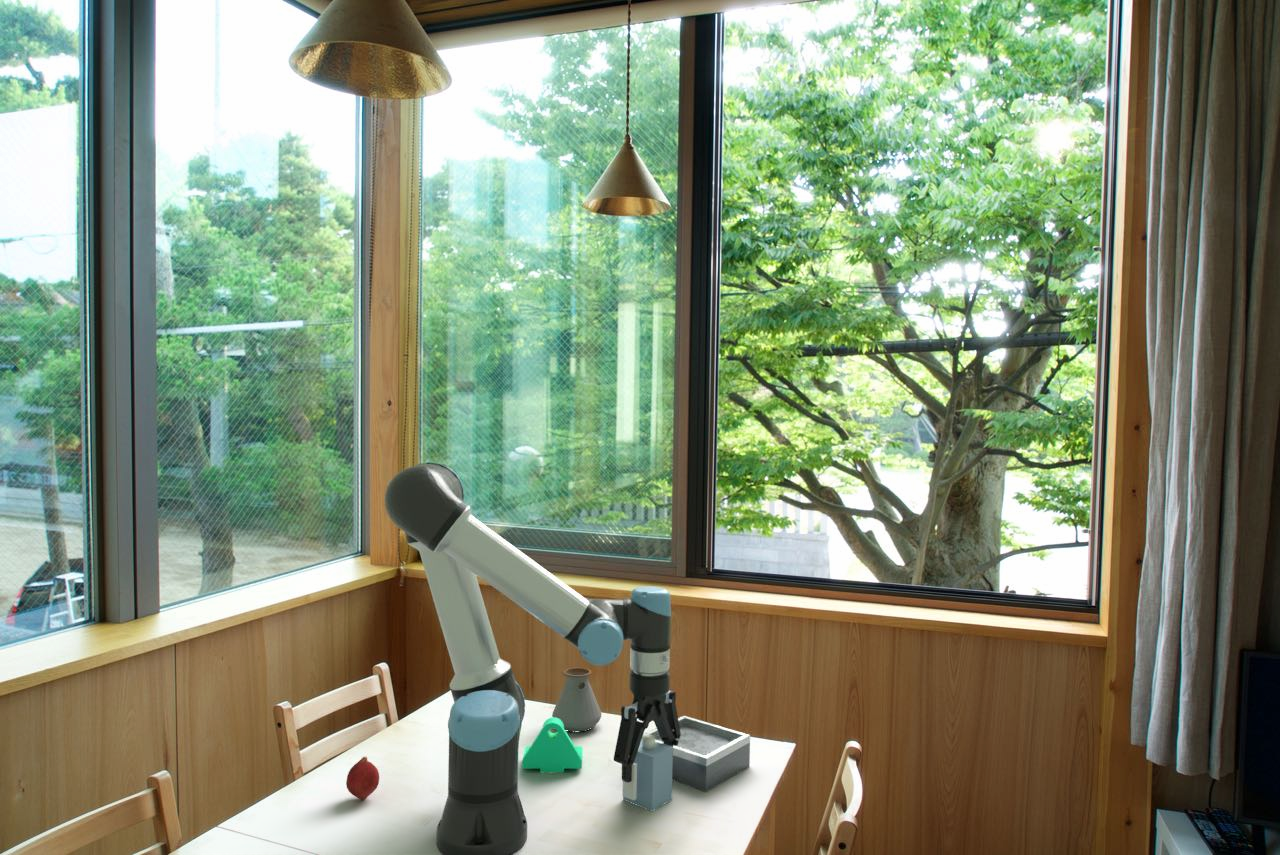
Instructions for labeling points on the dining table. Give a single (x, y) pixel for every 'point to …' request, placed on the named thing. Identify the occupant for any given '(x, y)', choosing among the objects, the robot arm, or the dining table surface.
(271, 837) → the dining table surface
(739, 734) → the open square box
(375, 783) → the onion
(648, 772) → the blue bottle
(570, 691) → the coffee pot
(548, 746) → the camera mount
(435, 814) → the dining table surface
